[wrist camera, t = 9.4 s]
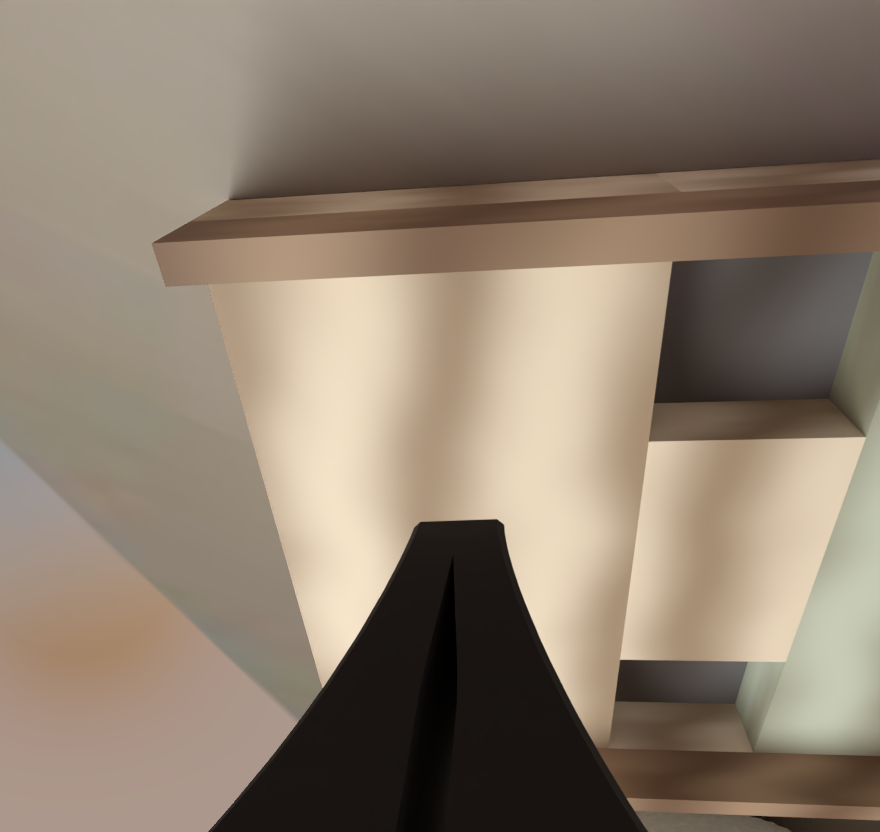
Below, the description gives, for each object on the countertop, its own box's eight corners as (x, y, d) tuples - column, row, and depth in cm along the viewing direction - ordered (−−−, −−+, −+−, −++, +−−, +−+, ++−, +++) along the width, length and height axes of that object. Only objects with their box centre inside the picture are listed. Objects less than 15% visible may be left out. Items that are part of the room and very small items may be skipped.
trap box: (1383, 127, 14) (1762, 159, 10) (983, 716, 27) (1077, 842, 22) (227, 200, 17) (140, 249, 13) (351, 702, 30) (328, 811, 25)
